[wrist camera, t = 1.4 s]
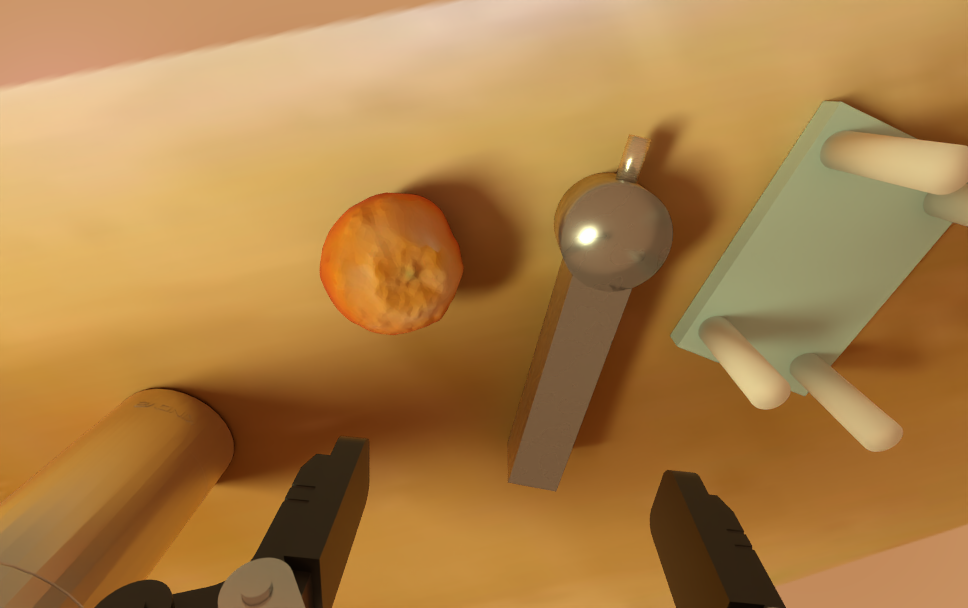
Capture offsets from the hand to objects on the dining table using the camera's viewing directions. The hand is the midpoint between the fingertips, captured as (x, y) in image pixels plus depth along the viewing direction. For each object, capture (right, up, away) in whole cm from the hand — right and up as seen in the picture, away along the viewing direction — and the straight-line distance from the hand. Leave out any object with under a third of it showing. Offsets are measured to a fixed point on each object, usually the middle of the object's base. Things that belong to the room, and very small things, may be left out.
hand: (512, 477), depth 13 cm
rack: (+20, +7, +17) cm, 27 cm away
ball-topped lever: (+5, +4, +19) cm, 20 cm away
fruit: (-6, +9, +18) cm, 21 cm away
